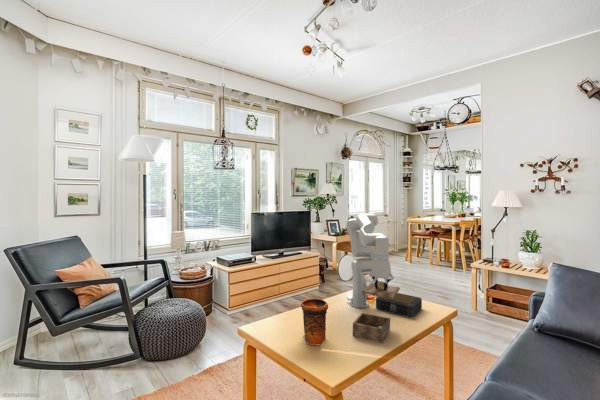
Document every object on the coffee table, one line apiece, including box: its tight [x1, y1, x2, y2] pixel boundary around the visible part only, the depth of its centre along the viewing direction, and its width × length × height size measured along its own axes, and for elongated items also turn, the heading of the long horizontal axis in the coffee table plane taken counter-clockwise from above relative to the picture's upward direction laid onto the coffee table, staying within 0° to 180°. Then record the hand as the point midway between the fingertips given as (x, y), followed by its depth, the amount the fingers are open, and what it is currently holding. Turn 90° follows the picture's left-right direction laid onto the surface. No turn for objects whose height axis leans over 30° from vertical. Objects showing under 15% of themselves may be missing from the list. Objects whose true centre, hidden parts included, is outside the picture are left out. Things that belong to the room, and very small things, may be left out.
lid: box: [362, 280, 400, 299], centre depth 176 cm, size 17×17×5 cm
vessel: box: [300, 298, 329, 347], centre depth 162 cm, size 14×14×20 cm
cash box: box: [375, 292, 423, 318], centre depth 205 cm, size 25×20×8 cm
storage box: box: [352, 312, 391, 344], centre depth 167 cm, size 16×16×8 cm
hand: (381, 288), depth 176 cm, fingers closed on lid, 4 cm apart
